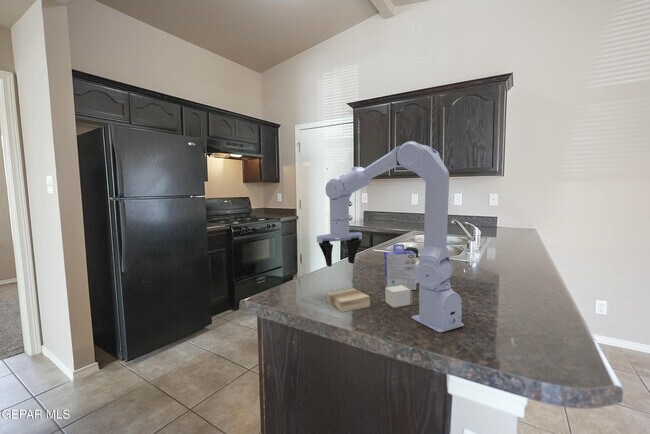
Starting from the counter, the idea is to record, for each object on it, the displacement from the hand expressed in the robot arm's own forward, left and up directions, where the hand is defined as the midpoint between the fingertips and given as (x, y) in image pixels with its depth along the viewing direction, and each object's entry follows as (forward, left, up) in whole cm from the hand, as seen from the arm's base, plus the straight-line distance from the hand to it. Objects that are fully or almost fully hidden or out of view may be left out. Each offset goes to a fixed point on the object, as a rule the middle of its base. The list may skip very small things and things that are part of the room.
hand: (340, 264), depth 93 cm
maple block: (-6, +1, -10) cm, 12 cm away
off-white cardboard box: (-12, -9, -8) cm, 17 cm away
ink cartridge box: (-1, -22, -11) cm, 24 cm away
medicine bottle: (+4, -31, -11) cm, 33 cm away
